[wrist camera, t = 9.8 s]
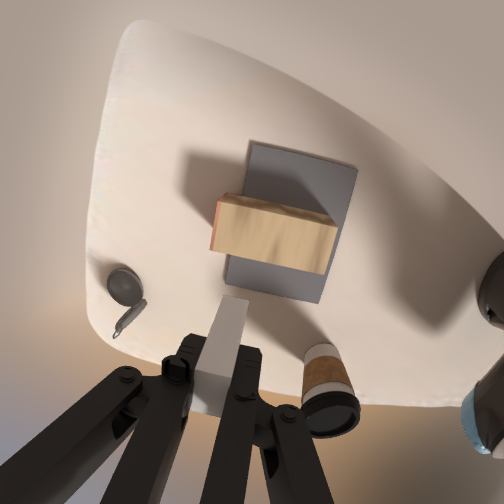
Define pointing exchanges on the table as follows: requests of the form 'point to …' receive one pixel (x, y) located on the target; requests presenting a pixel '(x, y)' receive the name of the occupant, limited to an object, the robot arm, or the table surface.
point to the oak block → (273, 233)
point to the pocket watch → (126, 296)
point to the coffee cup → (328, 394)
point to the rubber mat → (299, 196)
